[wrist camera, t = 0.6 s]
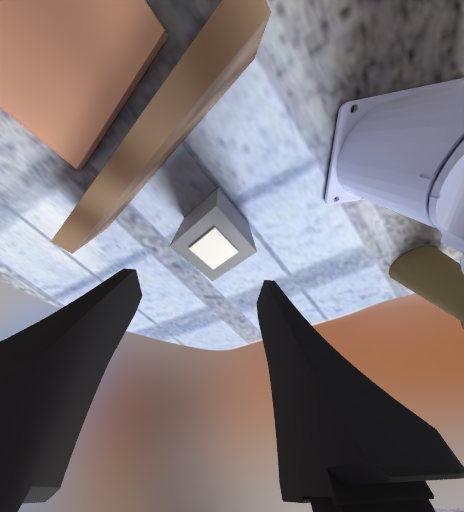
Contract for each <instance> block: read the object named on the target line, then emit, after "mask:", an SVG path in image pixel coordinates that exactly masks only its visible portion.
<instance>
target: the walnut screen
mask: <svg viewBox="0 0 464 512" xmlns="http://www.w3.org/2000/svg"><path fill="white" fill-rule="evenodd" d="M270 13H271V11H270V9H269V6H268V4H267V1H266V0H222V1H221V2H220V4H219V5H218V6H217V8H216V9H215V11H214V12H213V13H212V15H211V16H210V18H209V19H208V21H207V22H206V23H205V25H204V26H203V28H202V29H201V30H200V32H199V33H198V35H197V36H196V37H195V39H194V40H193V42H192V43H191V45H190V46H189V47H188V49H187V50H186V52H185V53H184V54H183V56H182V57H181V59H180V60H179V61H178V63H177V64H176V66H175V67H174V68H173V70H172V71H171V73H170V74H169V76H168V77H167V78H166V80H165V81H164V83H163V84H162V85H161V87H160V88H159V90H158V91H157V92H156V94H155V95H154V97H153V98H152V100H151V101H150V102H149V104H148V105H147V107H146V108H145V109H144V111H143V112H142V114H141V115H140V116H139V118H138V119H137V121H136V122H135V124H134V125H133V126H132V128H131V129H130V131H129V132H128V133H127V135H126V136H125V138H124V139H123V140H122V142H121V143H120V145H119V146H118V148H117V149H116V150H115V152H114V153H113V155H112V156H111V157H110V159H109V160H108V162H107V163H106V164H105V166H104V167H103V169H102V170H101V171H100V173H99V174H98V176H97V177H96V179H95V180H94V181H93V183H92V184H91V186H90V187H89V188H88V190H87V191H86V193H85V194H84V195H83V197H82V198H81V200H80V201H79V203H78V204H77V205H76V207H75V208H74V210H73V211H72V212H71V214H70V215H69V217H68V218H67V219H66V221H65V222H64V224H63V225H62V227H61V228H60V229H59V231H58V232H57V234H56V235H55V236H54V238H53V239H52V241H51V242H53V243H55V244H56V245H58V246H60V247H62V248H63V249H65V250H67V251H68V252H70V253H72V254H73V253H74V252H75V251H77V250H78V249H79V248H81V247H82V246H83V245H85V244H86V243H88V242H89V241H90V240H92V239H93V238H94V237H96V236H97V235H99V234H100V233H101V232H103V231H104V230H105V229H107V228H108V226H109V225H110V224H111V223H112V222H113V221H114V220H115V218H116V217H117V216H118V215H119V214H120V213H121V211H122V210H123V209H124V208H125V207H126V206H127V205H128V203H129V202H130V201H131V200H132V199H133V198H134V197H135V195H136V194H137V193H138V192H139V191H140V190H141V188H142V187H143V186H144V185H145V184H146V183H147V182H148V180H149V179H150V178H151V177H152V176H153V175H154V174H155V172H156V171H157V170H158V169H159V168H160V167H161V165H162V164H163V163H164V162H165V161H166V160H167V159H168V157H169V156H170V155H171V154H172V153H173V152H174V151H175V149H176V148H177V147H178V146H179V145H180V144H181V142H182V141H183V140H184V139H185V138H186V137H187V136H188V134H189V133H190V132H191V131H192V130H193V129H194V128H195V126H196V125H197V124H198V123H199V122H200V121H201V119H202V118H203V117H204V116H205V115H206V114H207V113H208V111H209V110H210V109H211V108H212V107H213V106H214V105H215V103H216V102H217V101H218V100H219V99H220V98H221V96H222V95H223V94H224V93H225V92H226V91H227V90H228V88H229V87H230V86H231V85H232V84H233V83H234V82H235V80H236V79H237V78H238V77H239V76H240V75H241V73H242V72H243V71H244V70H245V69H246V68H247V67H248V65H249V64H250V63H251V62H252V61H253V60H254V58H255V55H256V53H257V50H258V47H259V44H260V41H261V38H262V36H263V33H264V30H265V27H266V24H267V22H268V19H269V16H270Z"/></svg>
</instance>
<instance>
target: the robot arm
mask: <svg viewBox="0 0 464 512" xmlns="http://www.w3.org/2000/svg"><path fill="white" fill-rule="evenodd" d="M353 105H354V108H355V109H354V111H353V112H352V113H351V107H352V106H353ZM335 197H337V198H336V200H334V198H335ZM361 199H365V200H367V201H370V202H372V203H375V204H377V205H380V206H382V207H385V208H387V209H390V210H392V211H394V212H397V213H399V214H402V215H404V216H407V217H409V218H412V219H414V220H417V221H419V222H422V223H424V224H426V225H429V226H431V227H434V228H436V229H439V230H440V231H441V234H442V238H441V243H443V244H445V245H447V246H449V247H451V248H454V249H456V250H458V251H460V252H462V253H463V255H462V257H461V261H460V266H461V270H462V272H463V274H464V78H461V79H456V80H451V81H446V82H441V83H436V84H432V85H427V86H422V87H417V88H412V89H407V90H402V91H397V92H393V93H388V94H383V95H378V96H373V97H368V98H363V99H359V100H354V101H349V102H346V103H344V104H343V105H342V106H341V107H340V109H339V112H338V118H337V125H336V131H335V137H334V144H333V150H332V156H331V163H330V169H329V175H328V182H327V188H326V194H325V203H326V204H328V205H332V204H338V203H344V202H350V201H355V200H361ZM141 297H142V292H141V288H140V284H139V280H138V276H137V272H136V270H135V269H123V270H121V271H119V272H118V273H116V274H115V275H113V276H112V277H110V278H109V279H107V280H106V281H104V282H103V283H101V284H100V285H98V286H97V287H95V288H93V289H92V290H90V291H89V292H87V293H86V294H84V295H83V296H81V297H80V298H78V299H76V300H75V301H73V302H71V303H70V304H68V305H66V306H65V307H63V308H61V309H60V310H58V311H57V312H55V313H53V314H52V315H50V316H48V317H46V318H44V319H43V320H41V321H39V322H37V323H36V324H34V325H32V326H30V327H28V328H26V329H24V330H22V331H20V332H18V333H16V334H15V335H13V336H11V337H9V338H7V339H5V340H2V341H0V512H18V510H19V508H20V506H21V505H22V503H35V502H36V503H37V502H46V501H47V500H48V499H49V498H50V497H52V496H53V495H54V494H55V493H56V492H57V491H58V490H59V488H60V487H61V484H62V481H63V478H64V475H65V472H66V469H67V466H68V464H69V461H70V458H71V455H72V452H73V449H74V447H75V444H76V441H77V439H78V436H79V433H80V431H81V428H82V425H83V423H84V420H85V418H86V415H87V412H88V410H89V408H90V405H91V403H92V400H93V398H94V395H95V393H96V390H97V388H98V386H99V383H100V381H101V379H102V376H103V374H104V372H105V370H106V367H107V365H108V363H109V361H110V359H111V357H112V355H113V353H114V351H115V349H116V348H117V346H118V344H119V342H120V340H121V339H122V337H123V335H124V333H125V331H126V329H127V328H128V326H129V324H130V322H131V320H132V318H133V317H134V315H135V313H136V310H137V308H138V305H139V303H140V300H141ZM257 312H258V320H259V325H260V330H261V334H262V339H263V343H264V348H265V352H266V357H267V361H268V367H269V374H270V382H271V390H272V399H273V408H274V418H275V428H276V438H277V452H278V465H279V481H280V488H281V494H282V500H283V501H285V502H298V503H308V502H309V503H310V502H311V505H312V510H313V512H464V509H449V510H448V509H434V508H433V506H432V504H431V503H430V501H429V499H434V495H433V493H432V492H431V490H430V488H429V487H428V485H427V483H426V480H443V479H459V478H464V467H463V465H462V464H461V463H460V461H459V460H458V459H457V457H456V456H455V454H454V453H453V452H452V450H451V449H450V448H449V446H448V445H447V444H446V442H445V441H444V439H443V438H442V437H441V435H440V434H439V433H438V431H437V430H436V429H435V428H433V427H432V426H431V425H429V424H428V423H427V422H425V421H424V420H423V419H421V418H420V417H418V416H417V415H416V414H414V413H413V412H412V411H410V410H409V409H407V408H406V407H405V406H403V405H402V404H401V403H399V402H398V401H397V400H395V399H394V398H393V397H391V396H390V395H389V394H387V393H386V392H385V391H384V390H382V389H381V388H380V387H379V386H377V385H376V384H375V383H373V382H372V381H371V380H370V379H369V378H367V377H366V376H365V375H364V374H363V373H361V372H360V371H359V370H358V369H357V368H356V367H354V366H353V365H352V364H351V363H350V362H349V361H348V360H346V359H345V358H344V357H343V356H341V354H340V353H339V352H337V351H336V350H335V349H334V348H333V347H332V346H331V345H330V344H329V343H328V342H327V341H326V340H325V339H324V338H323V337H322V336H321V335H320V334H319V333H318V332H317V331H316V330H315V329H314V328H313V327H312V326H311V325H310V323H309V322H308V321H307V320H306V319H305V318H304V317H303V316H302V314H301V313H300V312H299V311H298V310H297V309H296V307H295V306H294V305H293V304H292V303H291V301H290V300H289V299H288V297H287V296H286V295H285V294H284V292H283V291H282V290H281V289H280V287H279V286H278V285H277V283H276V282H275V281H271V280H264V283H263V286H262V289H261V292H260V295H259V298H258V301H257Z"/></svg>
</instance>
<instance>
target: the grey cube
mask: <svg viewBox="0 0 464 512" xmlns="http://www.w3.org/2000/svg"><path fill="white" fill-rule="evenodd" d="M170 247H171V248H172V249H173V250H175V251H176V252H177V253H178V254H180V255H181V256H182V257H183V258H185V259H186V260H187V261H188V262H189V263H191V264H192V265H193V266H194V267H196V268H197V269H198V270H199V271H201V272H202V273H203V274H204V275H206V276H207V277H208V278H209V279H211V280H212V281H214V280H215V279H217V278H218V277H220V276H221V275H223V274H224V273H226V272H227V271H229V270H230V269H232V268H233V267H235V266H236V265H238V264H239V263H241V262H242V261H244V260H245V259H247V258H248V257H250V256H251V255H253V254H254V253H256V252H257V250H256V247H255V244H254V240H253V237H252V234H251V230H250V227H249V224H248V222H247V221H246V220H245V218H244V217H243V216H242V215H241V213H240V212H239V211H238V210H237V209H236V207H235V206H234V205H233V204H232V203H231V201H230V200H229V199H228V198H227V196H226V195H225V194H224V193H223V192H222V190H221V189H220V188H219V187H218V188H217V189H216V190H214V191H213V192H212V193H211V194H210V195H209V196H208V197H207V198H206V199H205V200H203V201H202V202H201V203H200V204H199V205H198V206H197V207H196V208H195V209H194V210H192V211H191V212H190V213H189V214H188V215H187V216H186V217H185V218H184V220H183V221H182V223H181V225H180V227H179V229H178V231H177V233H176V235H175V237H174V238H173V240H172V242H171V244H170Z"/></svg>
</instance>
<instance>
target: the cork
mask: <svg viewBox="0 0 464 512" xmlns="http://www.w3.org/2000/svg"><path fill="white" fill-rule="evenodd" d="M389 275H390V277H391V278H392V279H394V280H396V281H397V282H399V283H400V284H402V285H404V286H405V287H407V288H409V289H410V290H412V291H413V292H415V293H417V294H418V295H420V296H421V297H423V298H425V299H426V300H428V301H429V302H431V303H433V304H434V305H436V306H438V307H439V308H441V309H442V310H444V311H446V312H447V313H449V314H451V315H452V316H454V317H455V318H457V319H459V320H460V321H461V325H462V328H463V329H464V274H463V272H462V270H461V266H460V264H459V263H458V262H456V261H455V260H453V259H452V258H450V257H449V256H447V255H446V254H444V253H443V252H441V251H440V250H438V249H437V248H435V247H432V246H422V247H418V248H415V249H412V250H410V251H408V252H406V253H405V254H403V255H402V256H400V257H399V258H398V259H397V260H396V261H395V262H394V263H393V264H392V266H391V268H390V270H389Z"/></svg>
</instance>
